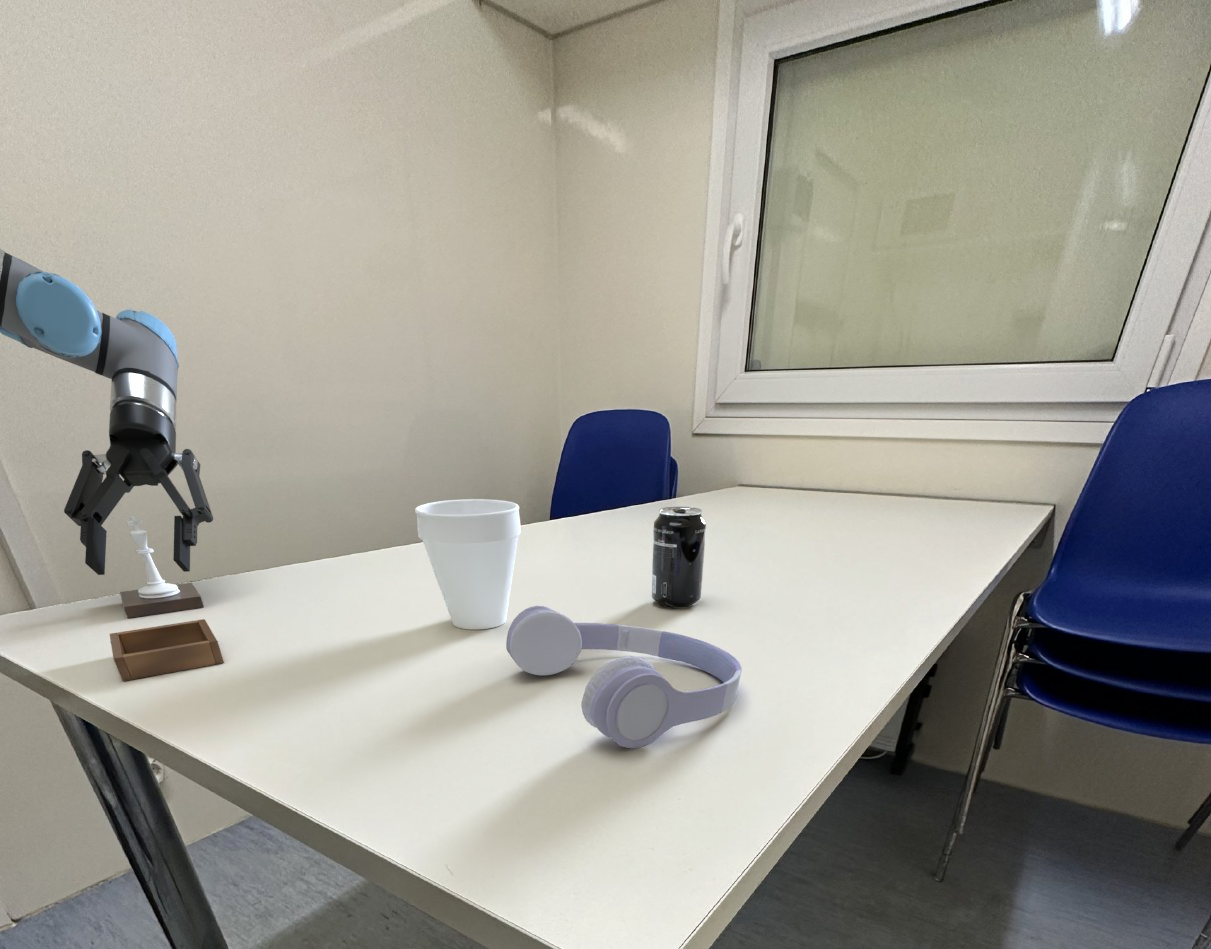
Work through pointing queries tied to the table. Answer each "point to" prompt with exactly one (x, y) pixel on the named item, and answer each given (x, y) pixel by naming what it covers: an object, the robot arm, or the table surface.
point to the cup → (472, 556)
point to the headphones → (625, 673)
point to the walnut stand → (161, 602)
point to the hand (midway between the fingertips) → (138, 567)
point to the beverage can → (678, 556)
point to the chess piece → (150, 566)
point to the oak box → (164, 649)
